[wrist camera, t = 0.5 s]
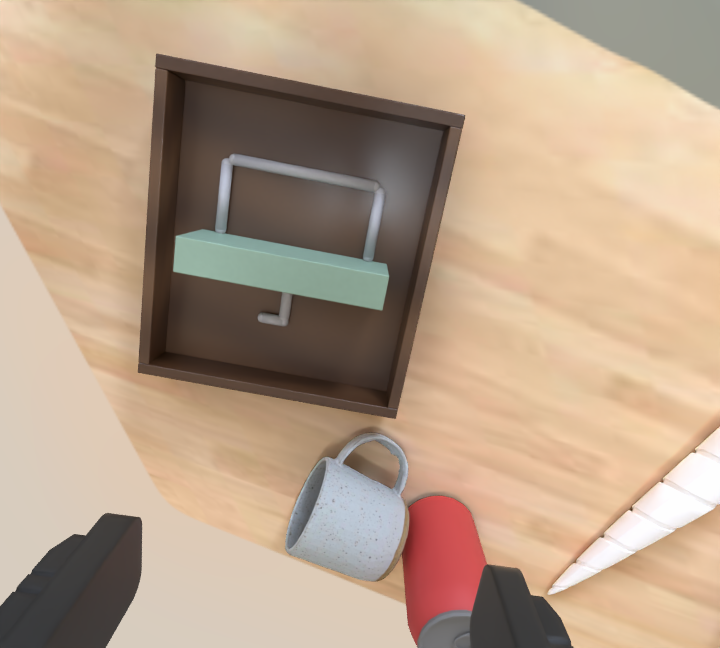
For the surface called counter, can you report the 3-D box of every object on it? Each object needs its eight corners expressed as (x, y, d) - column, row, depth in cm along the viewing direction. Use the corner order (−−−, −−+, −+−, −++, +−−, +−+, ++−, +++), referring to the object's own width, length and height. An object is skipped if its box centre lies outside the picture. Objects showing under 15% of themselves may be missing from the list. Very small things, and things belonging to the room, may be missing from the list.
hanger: (209, 148, 34) (182, 142, 29) (402, 186, 34) (408, 186, 29) (194, 308, 37) (168, 326, 32) (371, 340, 37) (371, 363, 33)
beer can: (485, 534, 43) (527, 663, 31) (421, 563, 44) (438, 698, 32) (452, 479, 41) (483, 592, 30) (386, 511, 42) (391, 632, 31)
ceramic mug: (372, 542, 43) (373, 614, 36) (290, 506, 42) (275, 573, 35) (429, 450, 41) (442, 507, 33) (343, 410, 40) (338, 459, 33)
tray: (178, 67, 33) (155, 53, 29) (455, 122, 33) (465, 115, 30) (158, 356, 39) (137, 372, 35) (393, 398, 39) (395, 419, 36)
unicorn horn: (517, 567, 44) (535, 611, 39) (736, 392, 39) (786, 420, 34) (552, 595, 45) (573, 642, 40) (771, 428, 39) (824, 460, 35)
